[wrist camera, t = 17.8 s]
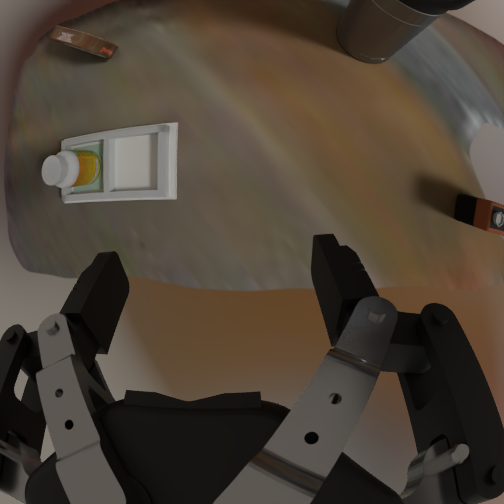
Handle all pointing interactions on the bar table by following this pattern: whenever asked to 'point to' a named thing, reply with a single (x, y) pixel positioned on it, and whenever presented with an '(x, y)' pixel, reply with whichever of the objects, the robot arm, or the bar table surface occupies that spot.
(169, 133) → the compartment tray
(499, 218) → the battery
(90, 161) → the supplement bottle
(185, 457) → the robot arm
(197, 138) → the bar table surface
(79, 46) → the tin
